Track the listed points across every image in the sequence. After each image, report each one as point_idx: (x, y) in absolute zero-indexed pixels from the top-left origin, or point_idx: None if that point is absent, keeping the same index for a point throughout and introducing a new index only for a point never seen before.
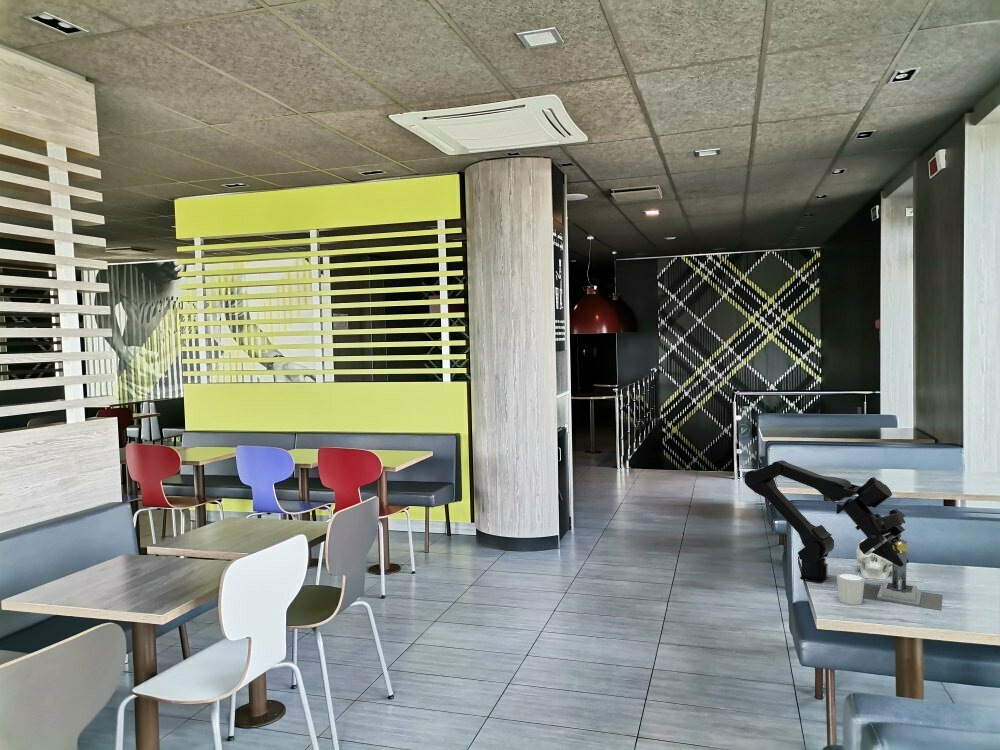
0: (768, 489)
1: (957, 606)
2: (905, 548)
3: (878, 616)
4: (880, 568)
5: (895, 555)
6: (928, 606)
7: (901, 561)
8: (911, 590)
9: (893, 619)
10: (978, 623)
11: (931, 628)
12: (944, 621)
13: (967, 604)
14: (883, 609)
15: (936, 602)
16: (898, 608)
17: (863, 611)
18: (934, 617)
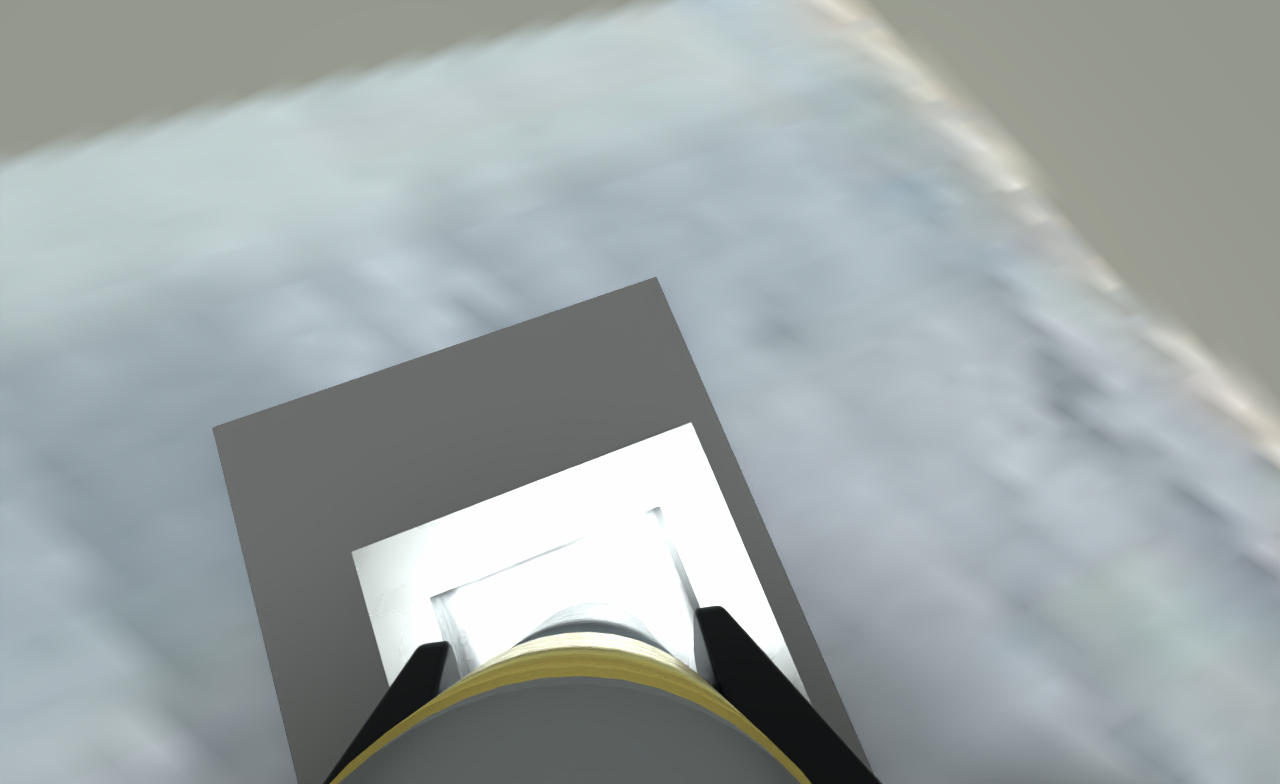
0: None
1: (413, 258)
2: (629, 654)
3: (1161, 539)
4: None
5: (877, 779)
6: (640, 376)
7: (735, 647)
8: (443, 607)
9: (1110, 435)
10: (673, 60)
11: (1026, 203)
12: (825, 200)
13: (300, 229)
14: (984, 598)
15: (482, 377)
16: (852, 529)
17: (1178, 682)
18: (807, 271)
